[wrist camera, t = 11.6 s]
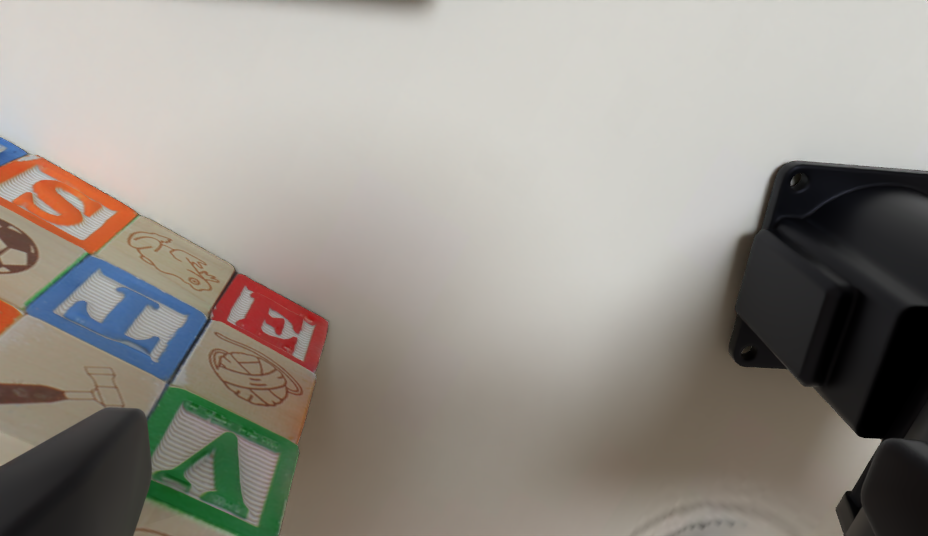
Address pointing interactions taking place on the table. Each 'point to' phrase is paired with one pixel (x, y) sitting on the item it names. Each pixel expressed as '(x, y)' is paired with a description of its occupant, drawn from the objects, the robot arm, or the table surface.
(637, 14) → the table surface
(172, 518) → the stack of blocks
